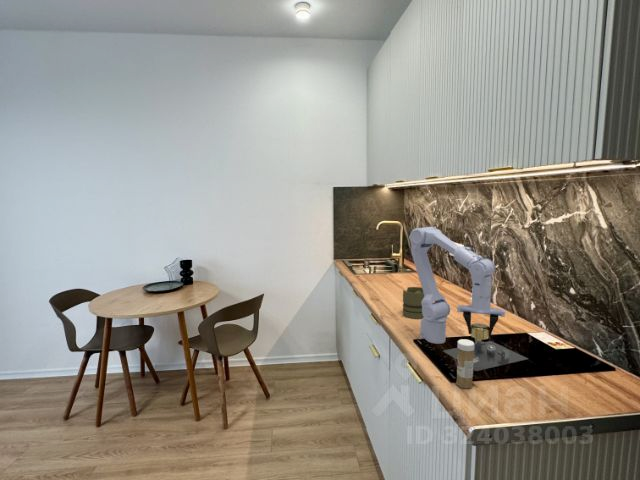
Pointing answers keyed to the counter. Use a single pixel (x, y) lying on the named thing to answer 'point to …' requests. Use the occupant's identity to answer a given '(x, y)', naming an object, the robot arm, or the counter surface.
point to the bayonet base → (489, 355)
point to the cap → (479, 331)
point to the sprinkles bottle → (465, 363)
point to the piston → (413, 302)
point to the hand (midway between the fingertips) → (479, 334)
